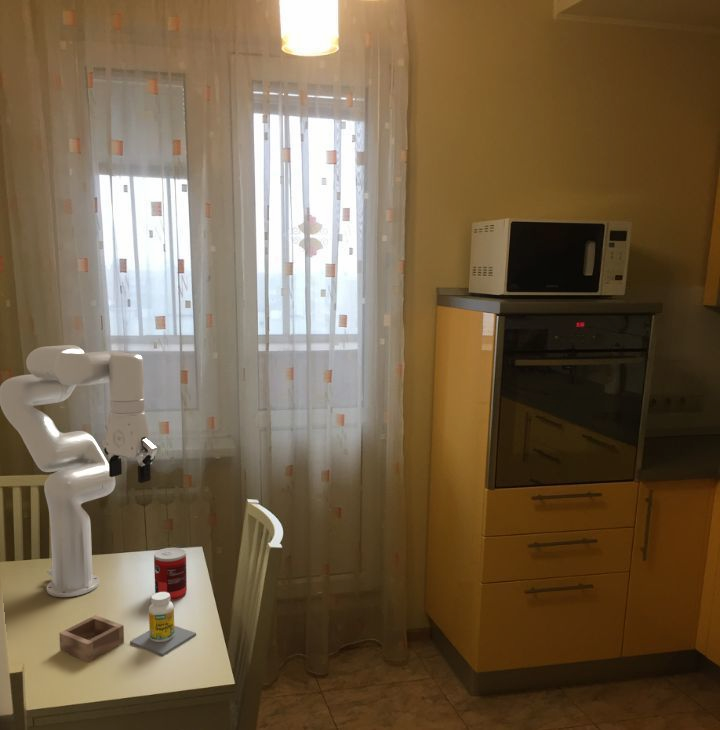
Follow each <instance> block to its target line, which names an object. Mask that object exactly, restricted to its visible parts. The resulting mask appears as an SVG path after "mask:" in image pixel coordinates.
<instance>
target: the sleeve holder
mask: <svg viewBox="0 0 720 730" xmlns="http://www.w3.org/2000/svg"><path fill="white" fill-rule="evenodd" d="M124 627H125V626H124V625H123V624H120V623H118V622H115V621H112V620H110V619H107V618H105V617H103V616H99V615H97V614H96V615H93V616H91V617H89V618H87V619H85V620H83V621H81V622H79V623H76V624H75V625H72V626H70V627H69V628H67V629H65V630H62V631H61V632H59V633H58V634H59V651H60V650H61V652H62V651H63V652H62V653H65V654H67V653H68V654H67V655H69V656H72V657H74V658H76V657H77V659H79V660H81V661H84V662H86V663H88V662H89V663H91V662H92V661H94V660H96V659H98V658H100V657H101V656H103V655H105V654H106V653H108V652H111V651H112V650H113V649H115V648H118V647H119V646H121V645H122V644H124V643H125V631H124ZM90 661H91V662H90Z"/></svg>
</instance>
